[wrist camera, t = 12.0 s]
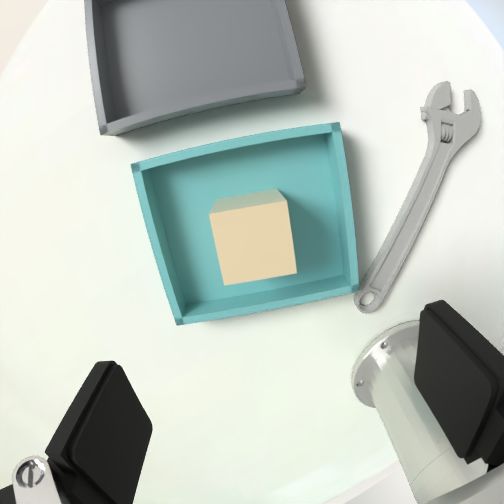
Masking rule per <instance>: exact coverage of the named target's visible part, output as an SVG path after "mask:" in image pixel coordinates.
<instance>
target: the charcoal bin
mask: <svg viewBox="0 0 504 504" xmlns="http://www.w3.org/2000/svg"><path fill="white" fill-rule="evenodd" d="M84 3H85V22H86V35H87V46H88V56H89V65H90V73H91V81H92V88H93V95H94V101H95V107H96V113H97V119H98V125H99V130H100V135H109V136H116V135H119V134H122V133H125V132H128V131H131V130H134V129H137V128H141V127H144V126H147V125H151V124H154V123H157V122H161V121H165V120H168V119H172V118H176V117H180V116H183V115H187V114H191V113H196V112H200V111H204V110H208V109H213V108H217V107H222V106H227V105H232V104H237V103H242V102H248V101H253V100H259V99H265V98H271V97H278V96H285V95H292V94H299V93H300V92H301V91H303V90H304V89H305V88H306V83H305V79H304V74H303V70H302V66H301V61H300V57H299V53H298V49H297V45H296V41H295V37H294V33H293V29H292V25H291V22H290V18H289V14H288V11H287V7H286V4H285V0H84Z"/></svg>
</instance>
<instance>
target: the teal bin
mask: <svg viewBox="0 0 504 504" xmlns="http://www.w3.org/2000/svg"><path fill="white" fill-rule="evenodd" d="M131 168H132V173H133V177H134V181H135V185H136V190H137V194H138V198H139V202H140V206H141V209H142V213H143V217H144V221H145V225H146V228H147V232H148V235H149V239H150V243H151V246H152V250H153V253H154V256H155V260H156V263H157V266H158V270H159V273H160V276H161V279H162V283H163V286H164V289H165V292H166V295H167V298H168V301H169V304H170V307H171V310H172V313H173V316H174V319H175V322H176V325H184V324H191V323H197V322H203V321H210V320H216V319H222V318H228V317H233V316H239V315H245V314H250V313H256V312H261V311H267V310H272V309H277V308H282V307H287V306H292V305H297V304H302V303H307V302H312V301H317V300H321V299H326V298H331V297H335V296H340V295H344V294H348V293H353V292H357V291H359V277H358V263H357V250H356V239H355V228H354V219H353V210H352V201H351V193H350V186H349V178H348V171H347V164H346V158H345V152H344V145H343V139H342V134H341V128H340V123H339V122H336V123H327V124H319V125H312V126H305V127H298V128H291V129H285V130H278V131H272V132H266V133H261V134H255V135H250V136H245V137H240V138H235V139H230V140H225V141H220V142H216V143H211V144H207V145H202V146H198V147H194V148H189V149H185V150H181V151H177V152H173V153H170V154H166V155H162V156H158V157H155V158H151V159H147V160H144V161H140V162H137V163H133V164H131ZM273 189H278V191H279V192H280V193H281V194H282V195H283V197H284V198H285V199H286V200H287V205H288V211H289V218H290V225H291V232H292V239H293V247H294V254H295V261H296V269H297V273H295V274H290V275H284V276H278V277H273V278H267V279H261V280H255V281H249V282H243V283H237V284H231V285H225V286H224V282H223V278H222V273H221V269H220V264H219V260H218V255H217V250H216V246H215V241H214V236H213V232H212V227H211V222H210V217H209V213H210V211H211V209H212V207H213V205H214V203H215V201H216V199H221V198H227V197H232V196H238V195H243V194H249V193H255V192H261V191H267V190H273Z"/></svg>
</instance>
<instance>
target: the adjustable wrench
mask: <svg viewBox="0 0 504 504" xmlns="http://www.w3.org/2000/svg"><path fill="white" fill-rule="evenodd" d="M448 105H451V89H450V82H447V81H445V82H440V83H438V84H437V85H435V86H434V87H433V88H432V89H431V91H430V92H429V94H428V96H427V99H426V102H425V106H424V107H420V110H421V112H422V114H421V118H422V120H425V121H426V125H427V131H428V146H427V150H426V154H425V156H424V159H423V161H422V163H421V166H420V168H419V170H418V172H417V175H416V177H415V179H414V181H413V184H412V186H411V188H410V190H409V192H408V194H407V196H406V199H405V201H404V203H403V205H402V207H401V209H400V211H399V213H398V215H397V217H396V219H395V221H394V223H393V225H392V227H391V229H390V231H389V233H388V235H387V237H386V239H385V241H384V243H383V244H382V246H381V248H380V250H379V252H378V254H377V256H376V258H375V259H374V261H373V263H372V265H371V267H370V268H369V270H368V272H367V274H366V276H365V277H364V279H363V281H362V283H361V284H360V286H359V291H357V292H356V293H355V296H354V303H355V305H356V306H357V308H358V309H359V311H360V312H362V313H371V312H374V311H375V310H376V309H377V308H378V307H379V306H380V304H381V302H382V301H383V299H384V297H385V295H386V294H387V292H388V290H389V288H390V286H391V285H392V283H393V281H394V279H395V277H396V276H397V274H398V272H399V270H400V268H401V266H402V264H403V262H404V260H405V258H406V257H407V255H408V253H409V251H410V249H411V247H412V245H413V243H414V241H415V239H416V237H417V234H418V232H419V230H420V228H421V226H422V224H423V222H424V220H425V217H426V215H427V213H428V211H429V209H430V206H431V204H432V202H433V200H434V197H435V195H436V193H437V190H438V188H439V185H440V183H441V180H442V178H443V176H444V173H445V170H446V168H447V166H448V164H449V162H450V160H451V158H452V157H453V156H454V154H455V153H456V152H457V151H458V150H459V149H460V147H461V146H462V145H463V144H464V143H465V142H466V141H468V140H469V139H470V138H471V137H472V136H473V135H474V134H476V132H477V131H478V129H479V126H480V123H481V108H480V104H479V100H478V98H477V96H476V94H475V92H474V91H472V90H465V91H464V112H463V113H461V114H459V115H458V114H454V113H452V112H451V111H450V109H449V108H448V107H447V106H448ZM441 140H442V141H445V142H447V143H442V142H441ZM367 292H373V293H374V296H375V297H374V300H373V301H372V302H371V303H370V304H368V305H364V306H363V305H361V304H360V302H359V300H360V298H361V297H362V295H364V294H365V293H367Z"/></svg>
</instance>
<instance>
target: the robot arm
mask: <svg viewBox="0 0 504 504" xmlns="http://www.w3.org/2000/svg"><path fill="white" fill-rule="evenodd" d="M351 383H352V387H353V391H354V393H355V395H356V397H357V398H358V400H359V401H360V402H362V403H363V404H364V405H367V406H369V407H373V408H376V409H377V411H378V413H379V415H380V417H381V420H382V422H383V424H384V426H385V429H386V431H387V433H388V435H389V438H390V440H391V442H392V445H393V447H394V449H395V451H396V454H397V456H398V458H399V461H400V463H401V465H402V468H403V470H404V472H405V475H406V477H407V480H408V482H409V485H410V487H411V490H412V492H413V495H414V497H415V499H416V501H417V503H418V504H504V356H503V355H502V354H501V353H500V352H499V351H498V350H497V349H496V348H495V347H494V346H493V345H492V344H491V343H490V342H489V341H488V340H487V339H486V338H485V337H484V336H483V335H481V334H480V333H479V332H478V331H477V330H476V329H475V328H474V327H473V326H472V325H471V324H470V323H469V322H468V321H466V320H465V319H464V318H463V317H462V316H461V315H460V314H459V313H458V312H456V311H455V310H454V309H453V308H452V307H451V306H450V305H449V304H447V303H446V302H445V301H444V300H439V301H436V302H433V303H429V304H427V305H426V306H425V308H424V310H422V311H421V313H420V321H411V322H406V323H403V324H400V325H397V326H395V327H393V328H391V329H389V330H388V331H386V332H384V333H383V334H381V335H380V336H379V337H377V338H376V339H375V340H374V341H373V342H371V343H370V345H369V346H368V347H367V348H366V349H365V350H364V351H363V353H362V354H361V355H360V357H359V358H358V360H357V362H356V364H355V366H354V369H353V373H352V382H351ZM151 434H152V423H151V421H150V419H149V417H148V415H147V414H146V412H145V410H144V408H143V407H142V405H141V403H140V401H139V399H138V397H137V396H136V394H135V392H134V390H133V388H132V386H131V384H130V382H129V380H128V378H127V376H126V374H125V372H124V370H123V368H122V367H121V366H120V365H117V363H116V362H115V361H101V362H97V363H96V364H95V365H94V367H93V369H92V370H91V372H90V373H89V375H88V377H87V378H86V380H85V382H84V383H83V385H82V387H81V388H80V390H79V392H78V393H77V395H76V397H75V398H74V400H73V402H72V404H71V405H70V407H69V409H68V410H67V412H66V414H65V416H64V417H63V419H62V421H61V423H60V425H59V426H58V428H57V430H56V432H55V434H54V435H53V437H52V439H51V441H50V443H49V445H48V446H47V448H46V450H45V453H46V454H47V455H48V457H49V458H48V460H47V461H46V460H45V459H44V458H43V457H40V456H30V457H27V458H25V459H23V460H22V461H20V462H19V463H18V464H17V466H16V467H15V469H14V471H13V474H12V482H13V484H12V485H9V486H7V487H5V488H3V489H1V490H0V504H133V500H134V496H135V492H136V489H137V485H138V481H139V477H140V474H141V470H142V466H143V462H144V459H145V455H146V452H147V448H148V445H149V441H150V438H151Z"/></svg>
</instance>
